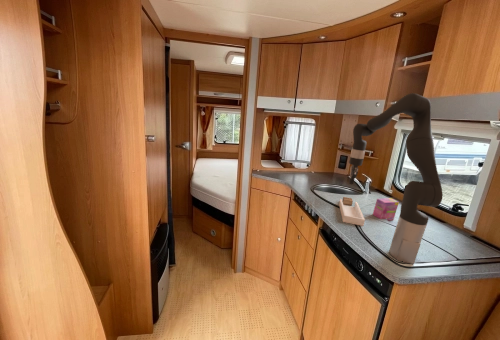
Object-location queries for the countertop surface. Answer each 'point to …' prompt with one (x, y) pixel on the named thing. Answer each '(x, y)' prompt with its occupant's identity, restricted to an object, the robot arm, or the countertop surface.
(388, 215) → the box
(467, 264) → the countertop surface
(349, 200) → the block
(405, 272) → the countertop surface
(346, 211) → the trough
